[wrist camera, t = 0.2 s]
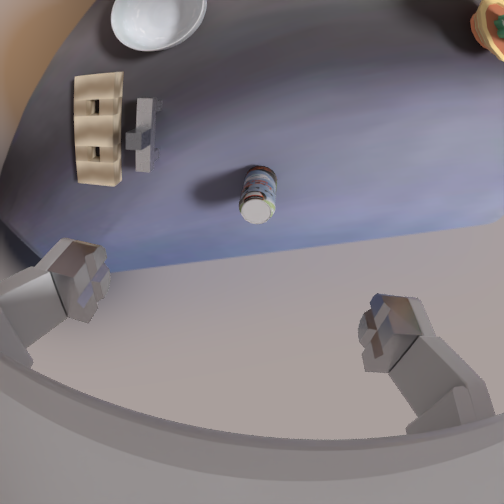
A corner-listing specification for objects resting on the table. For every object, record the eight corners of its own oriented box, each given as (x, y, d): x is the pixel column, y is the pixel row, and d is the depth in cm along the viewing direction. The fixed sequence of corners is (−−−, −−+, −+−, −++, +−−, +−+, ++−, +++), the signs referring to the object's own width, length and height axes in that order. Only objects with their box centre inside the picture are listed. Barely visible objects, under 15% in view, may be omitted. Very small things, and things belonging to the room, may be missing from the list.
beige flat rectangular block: (84, 75, 44) (74, 76, 41) (123, 71, 44) (114, 72, 41) (86, 176, 57) (78, 182, 54) (121, 180, 57) (114, 186, 55)
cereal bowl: (114, 39, 40) (95, 38, 34) (153, -30, 31) (138, -39, 25) (186, 65, 43) (173, 64, 38) (230, -8, 34) (223, -19, 29)
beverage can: (276, 162, 53) (275, 186, 43) (277, 197, 57) (277, 227, 48) (243, 164, 54) (234, 187, 44) (246, 198, 58) (239, 228, 48)
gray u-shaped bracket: (150, 94, 47) (126, 101, 38) (165, 95, 47) (143, 101, 39) (148, 161, 55) (126, 178, 47) (161, 162, 55) (141, 180, 47)
